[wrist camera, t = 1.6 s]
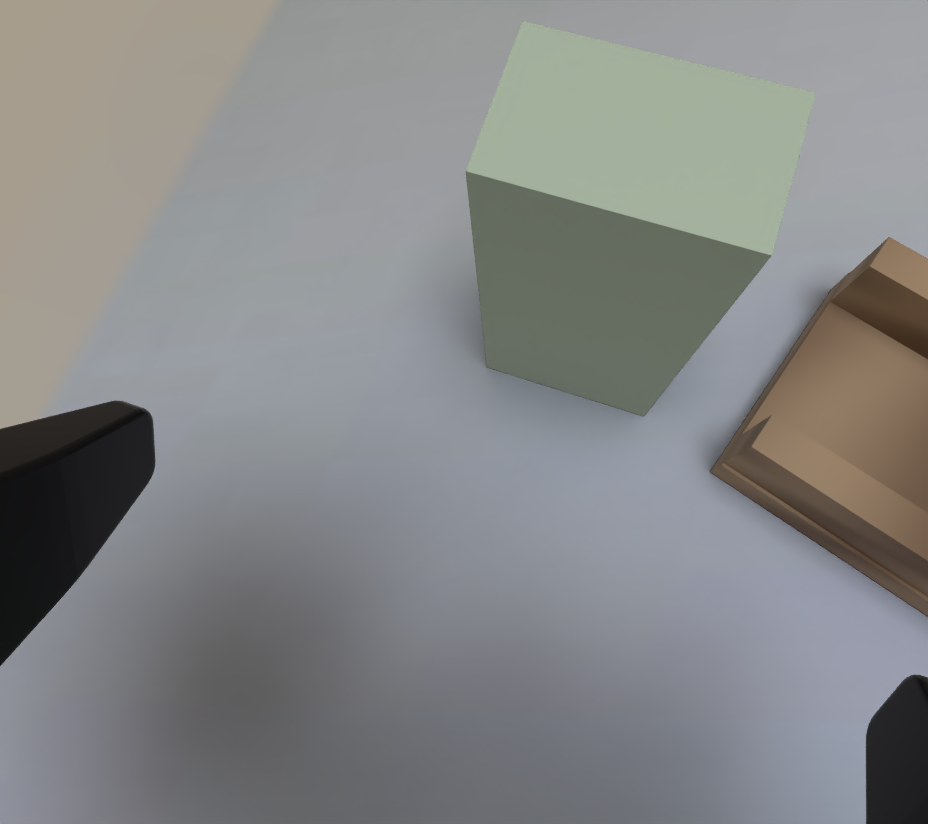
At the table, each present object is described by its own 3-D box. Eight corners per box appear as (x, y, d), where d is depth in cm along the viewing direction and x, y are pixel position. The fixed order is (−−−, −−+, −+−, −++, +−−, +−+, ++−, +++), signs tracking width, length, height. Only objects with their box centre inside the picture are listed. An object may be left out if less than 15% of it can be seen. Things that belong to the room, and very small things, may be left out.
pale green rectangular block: (643, 416, 22) (771, 255, 11) (486, 367, 23) (465, 171, 12) (670, 326, 22) (816, 92, 12) (516, 281, 23) (522, 20, 12)
